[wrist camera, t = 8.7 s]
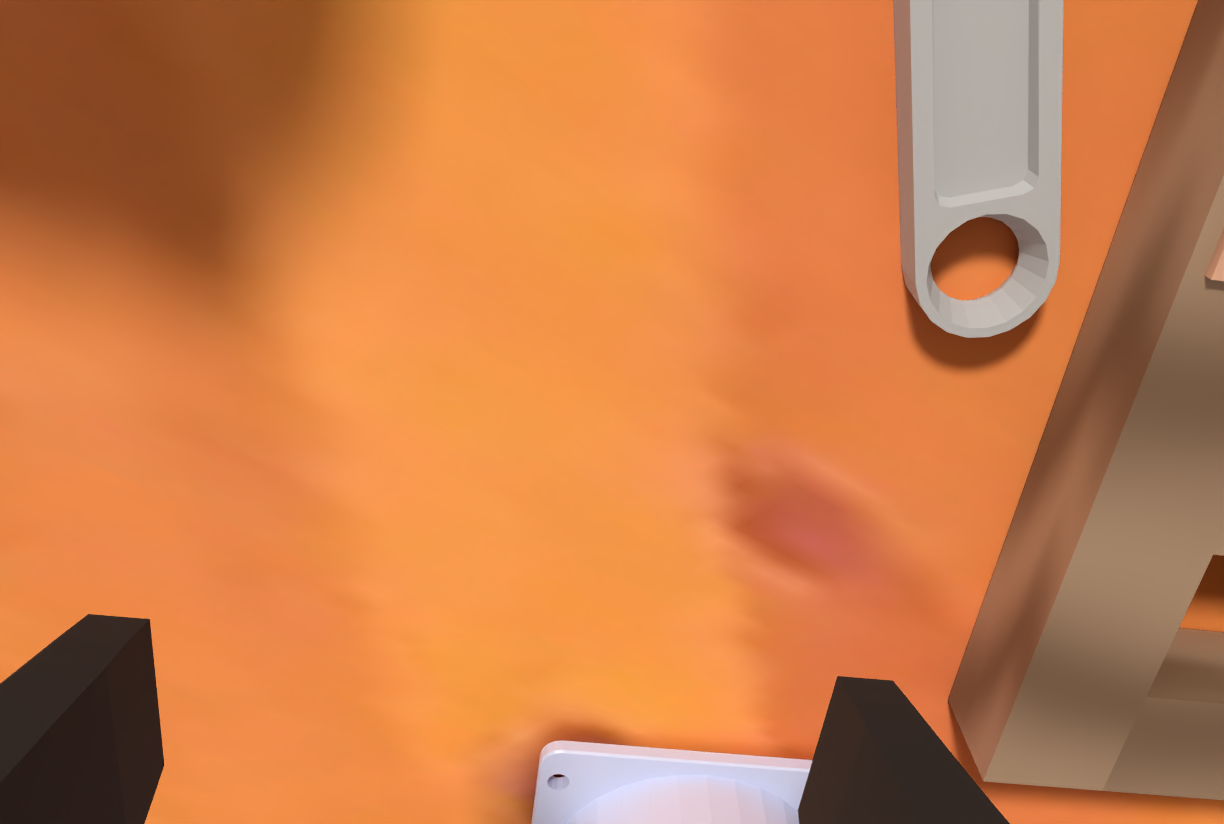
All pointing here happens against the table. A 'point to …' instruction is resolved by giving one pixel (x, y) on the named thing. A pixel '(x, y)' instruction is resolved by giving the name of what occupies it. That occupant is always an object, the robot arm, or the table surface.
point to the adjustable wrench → (979, 146)
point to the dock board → (1124, 499)
